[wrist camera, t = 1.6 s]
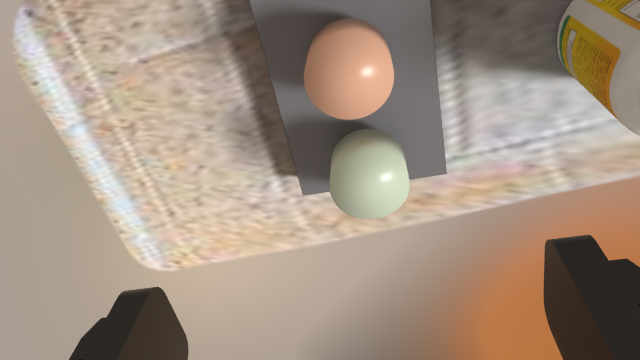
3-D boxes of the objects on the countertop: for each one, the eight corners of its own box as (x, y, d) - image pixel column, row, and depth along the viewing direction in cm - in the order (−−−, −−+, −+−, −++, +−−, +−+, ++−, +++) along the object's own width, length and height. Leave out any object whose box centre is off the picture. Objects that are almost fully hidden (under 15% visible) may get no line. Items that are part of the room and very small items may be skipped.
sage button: (361, 114, 25) (362, 136, 23) (420, 155, 26) (426, 180, 24) (316, 168, 26) (314, 193, 24) (374, 204, 27) (376, 231, 25)
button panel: (230, -105, 23) (221, -103, 21) (410, -150, 21) (415, -151, 20) (305, 177, 30) (303, 195, 28) (441, 155, 29) (446, 173, 27)
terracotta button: (339, 0, 22) (339, 14, 20) (407, 51, 23) (412, 68, 21) (292, 68, 24) (286, 87, 22) (356, 113, 25) (357, 135, 23)
